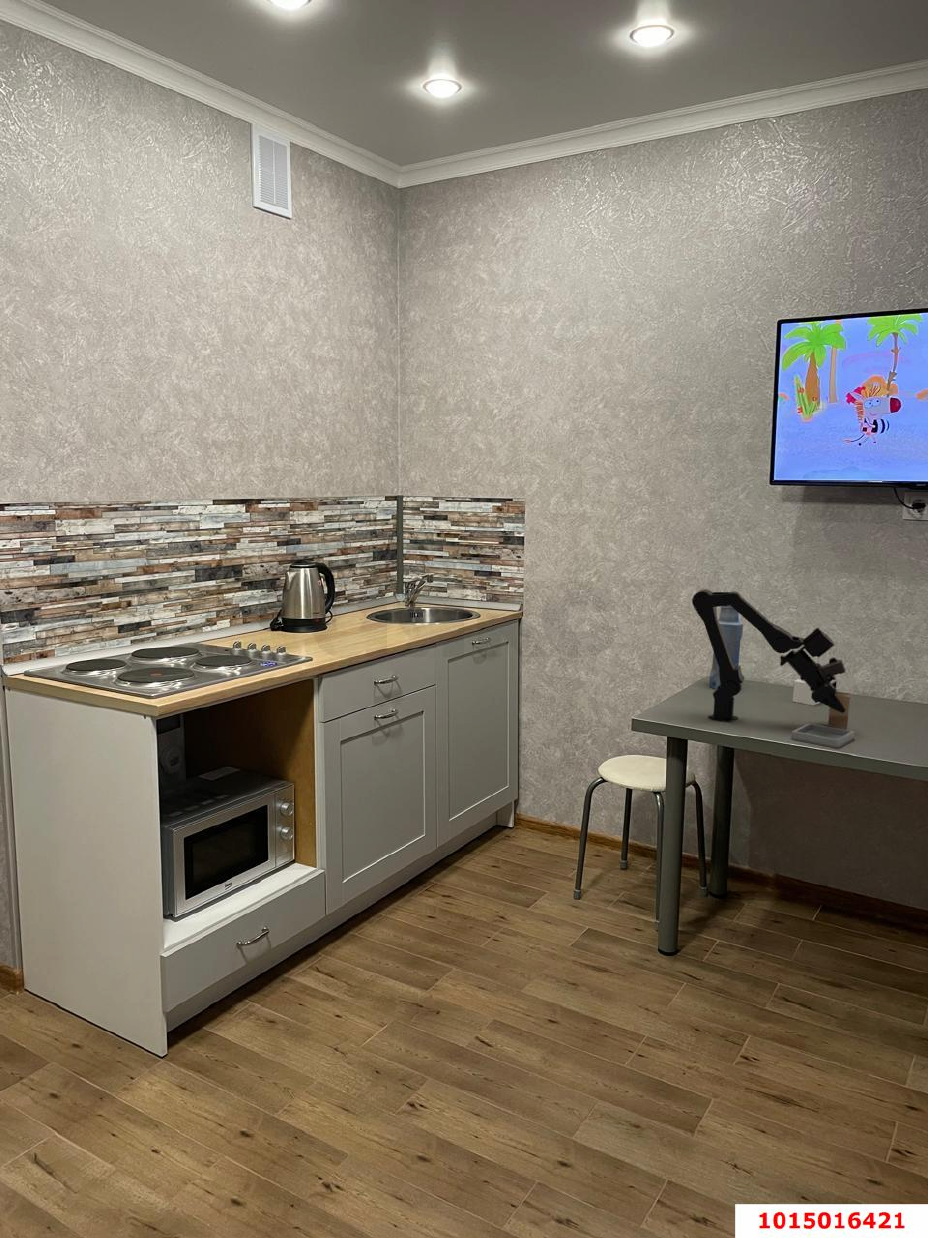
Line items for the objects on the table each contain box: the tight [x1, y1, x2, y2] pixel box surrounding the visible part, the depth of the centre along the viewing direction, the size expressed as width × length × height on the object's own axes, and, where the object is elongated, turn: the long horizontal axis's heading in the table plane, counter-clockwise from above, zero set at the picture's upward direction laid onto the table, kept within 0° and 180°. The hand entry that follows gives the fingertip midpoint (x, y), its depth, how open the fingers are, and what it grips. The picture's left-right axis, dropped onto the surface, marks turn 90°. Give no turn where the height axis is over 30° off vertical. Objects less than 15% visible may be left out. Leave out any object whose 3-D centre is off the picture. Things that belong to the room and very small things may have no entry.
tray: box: [791, 722, 856, 750], centre depth 255 cm, size 13×13×2 cm
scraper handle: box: [827, 691, 851, 730], centre depth 263 cm, size 5×5×11 cm
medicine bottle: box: [792, 678, 821, 707], centre depth 298 cm, size 7×7×12 cm
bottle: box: [708, 606, 744, 690], centre depth 316 cm, size 10×10×30 cm
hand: (844, 709), depth 262 cm, fingers closed on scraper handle, 5 cm apart
